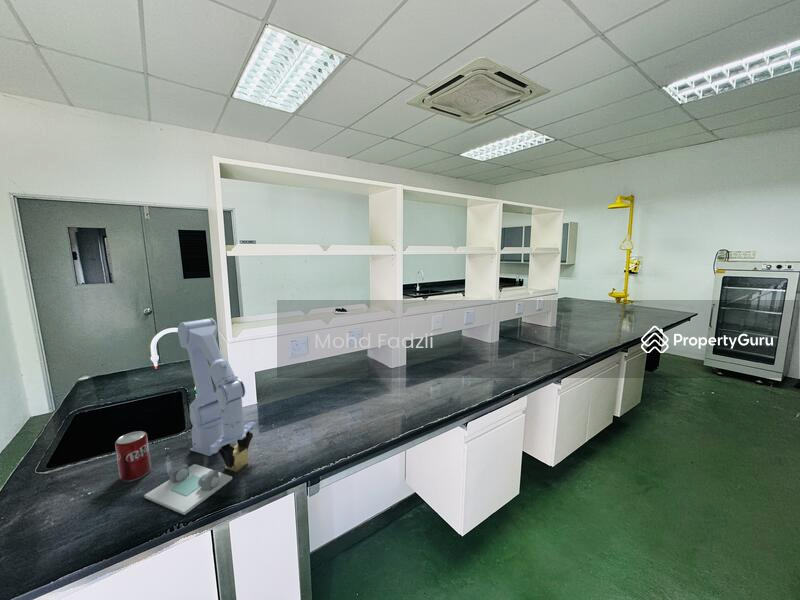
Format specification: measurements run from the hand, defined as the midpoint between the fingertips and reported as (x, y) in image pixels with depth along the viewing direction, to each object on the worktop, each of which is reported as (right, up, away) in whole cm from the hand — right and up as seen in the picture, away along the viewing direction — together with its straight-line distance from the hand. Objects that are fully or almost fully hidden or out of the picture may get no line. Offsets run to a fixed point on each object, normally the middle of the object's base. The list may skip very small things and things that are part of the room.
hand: (236, 461), depth 98 cm
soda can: (-28, -2, -3) cm, 29 cm away
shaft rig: (-8, -3, -9) cm, 13 cm away
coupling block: (0, -1, 0) cm, 1 cm away
